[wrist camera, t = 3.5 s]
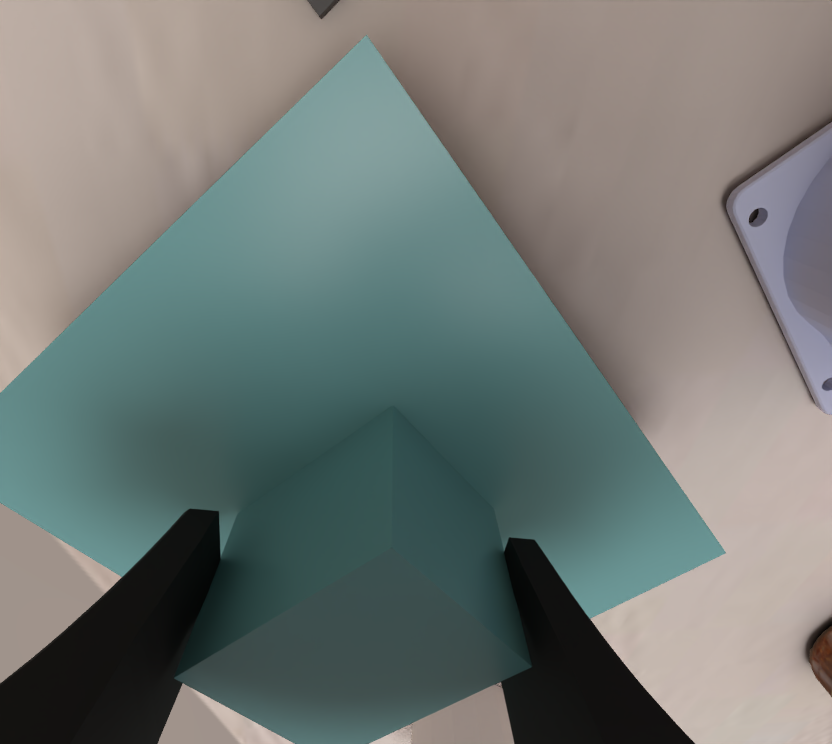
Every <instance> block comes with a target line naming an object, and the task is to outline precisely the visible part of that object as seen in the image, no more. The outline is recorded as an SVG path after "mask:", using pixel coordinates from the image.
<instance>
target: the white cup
mask: <svg viewBox="0 0 832 744" xmlns="http://www.w3.org/2000/svg"><path fill="white" fill-rule="evenodd" d="M411 744H514V740H513V735H512V730H511V726H510V721H509V716H508V712H507V707H506V702H505V698H504V693H503V688H502V687H499V686H497V685H493V686H490V687H488V688H486V689H484V690H482V691H480V692H478V693H475V694H473V695H471V696H469V697H467V698H465V699H463V700H460V701H458V702H456V703H454V704H452V705H450V706H448V707H446V708H443V709H441V710H439V711H437V712H435V713H433V714H431V715H428V716H426V717H424V718H422V719H420V720H418V721H416V722H414V723H412V739H411Z"/></svg>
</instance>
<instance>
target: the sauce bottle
mask: <svg viewBox="0 0 832 744" xmlns="http://www.w3.org/2000/svg"><path fill="white" fill-rule="evenodd" d="M809 662H810V664H811V667H812V670H813V672H814V674H815V676H816V678H817V679H818V681H819V682H820V683H821V684H822V685H823V687H824V688H825V689H826V690H827V692H828V693H829V694H830V695H831V697H832V625H831V626H830V627H829V628H828V629H827V630H825V631H824V632H823V633H822V634H821V635H820V636H819V637H818V638H817V640H816V642H815V643H814V646H813V647H812V648H811V649H810V660H809Z"/></svg>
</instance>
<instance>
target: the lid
mask: <svg viewBox="0 0 832 744" xmlns="http://www.w3.org/2000/svg"><path fill="white" fill-rule="evenodd" d="M0 503H1V504H3V505H5V506H6V507H8V508H10V509H11V510H13V511H15V512H17V513H18V514H19V515H21V516H23V517H24V518H26V519H28V520H29V521H31V522H33V523H34V524H36V525H38V526H39V527H41V528H42V529H44V530H46V531H47V532H49V533H51V534H52V535H54V536H56V537H57V538H59V539H61V540H62V541H64V542H65V543H67V544H69V545H70V546H72V547H74V548H75V549H77V550H79V551H80V552H82V553H84V554H85V555H87V556H88V557H90V558H92V559H93V560H95V561H97V562H98V563H100V564H102V565H103V566H105V567H107V568H108V569H110V570H111V571H113V572H115V573H116V574H118V575H120V576H121V577H123V576H124V575H125V574H126V573H127V572H128V571H129V570H130V569H131V568H132V567H133V566H134V565H135V564H136V563H137V562H138V561H139V560H140V559H141V558H142V557H143V556H144V555H145V554H146V553H147V552H148V551H149V550H150V549H151V548H152V547H153V546H154V545H155V543H156V542H157V541H158V540H159V539H160V538H161V537H162V536H163V535H164V534H165V533H166V532H167V531H168V530H169V529H170V527H171V526H172V525H173V524H174V523H175V522H176V521H177V520H178V519H179V518H180V516H181V515H182V514H183V513H184V512H185V511H187V510H188V509H190V508H191V509H202V510H213V511H219V525H220V553H221V560H220V563H219V565H218V568H217V570H216V573H215V576H214V578H213V581H212V583H211V586H210V589H209V591H208V594H207V596H206V599H205V601H204V603H203V605H202V608H201V610H200V612H199V614H198V617H197V619H196V622H195V625H194V627H193V630H192V632H191V635H190V637H189V640H188V643H187V645H186V648H185V650H184V653H183V655H182V658H181V661H180V663H179V666H178V668H177V671H176V673H175V676H174V679H176V680H178V681H180V682H182V683H184V684H185V685H187V686H189V687H191V688H193V689H195V690H197V691H198V692H200V693H202V694H204V695H206V696H208V697H210V698H211V699H213V700H215V701H217V702H219V703H221V704H223V705H224V706H226V707H228V708H230V709H232V710H234V711H235V712H237V713H239V714H241V715H243V716H245V717H247V718H248V719H250V720H252V721H254V722H256V723H258V724H260V725H261V726H263V727H265V728H267V729H269V730H271V731H272V732H274V733H276V734H278V735H280V736H282V737H284V738H285V739H287V740H289V741H291V742H293V743H295V744H369V743H371V742H373V741H375V740H377V739H379V738H382V737H384V736H386V735H388V734H390V733H392V732H394V731H396V730H399V729H401V728H403V727H405V726H407V725H409V724H411V723H414V722H416V721H418V720H420V719H422V718H424V717H426V716H428V715H431V714H433V713H435V712H437V711H439V710H441V709H443V708H446V707H448V706H450V705H452V704H454V703H456V702H458V701H460V700H463V699H465V698H467V697H469V696H471V695H473V694H475V693H478V692H480V691H482V690H484V689H486V688H488V687H490V686H493V685H495V684H497V683H499V682H501V681H503V680H505V679H507V678H510V677H512V676H514V675H516V674H518V673H520V672H522V671H525V670H527V669H529V668H531V667H532V664H531V660H530V656H529V652H528V647H527V643H526V639H525V635H524V631H523V627H522V623H521V619H520V614H519V610H518V606H517V603H516V600H515V596H514V593H513V589H512V585H511V581H510V577H509V572H508V568H507V564H506V560H505V556H504V550H505V547H506V545H507V542H508V539H509V537H511V538H523V539H534V540H535V541H536V542H537V543H538V545H539V546H540V548H541V549H542V551H543V552H544V554H545V555H546V557H547V558H548V560H549V561H550V563H551V564H552V565H553V567H554V568H555V570H556V571H557V573H558V574H559V576H560V577H561V579H562V580H563V582H564V583H565V585H566V586H567V587H568V589H569V590H570V592H571V593H572V595H573V596H574V598H575V599H576V600H577V602H578V603H579V605H580V606H581V607H582V609H583V610H584V612H585V613H586V614H587V616H588V617H589V618H592V617H594V616H596V615H598V614H600V613H603V612H605V611H607V610H609V609H611V608H613V607H615V606H617V605H619V604H621V603H623V602H625V601H627V600H630V599H632V598H634V597H636V596H638V595H640V594H642V593H644V592H646V591H648V590H650V589H652V588H654V587H657V586H659V585H661V584H663V583H665V582H667V581H669V580H671V579H673V578H675V577H677V576H679V575H681V574H683V573H686V572H688V571H690V570H692V569H694V568H696V567H698V566H700V565H702V564H704V563H706V562H708V561H710V560H713V559H715V558H717V557H719V556H721V555H723V554H725V553H726V552H725V551H724V549H723V548H722V546H721V545H720V544H719V542H718V541H717V539H716V538H715V536H714V535H713V533H712V532H711V531H710V529H709V528H708V526H707V525H706V523H705V522H704V520H703V519H702V518H701V516H700V515H699V513H698V512H697V510H696V509H695V508H694V506H693V505H692V503H691V502H690V500H689V499H688V497H687V496H686V495H685V493H684V492H683V490H682V489H681V487H680V486H679V484H678V483H677V482H676V480H675V479H674V477H673V476H672V474H671V473H670V471H669V470H668V469H667V467H666V466H665V464H664V463H663V461H662V460H661V459H660V457H659V456H658V454H657V453H656V451H655V450H654V448H653V447H652V446H651V444H650V443H649V441H648V440H647V438H646V437H645V435H644V434H643V433H642V431H641V430H640V428H639V427H638V425H637V424H636V422H635V421H634V420H633V418H632V417H631V415H630V414H629V412H628V411H627V410H626V408H625V407H624V405H623V404H622V402H621V401H620V399H619V398H618V397H617V395H616V394H615V392H614V391H613V389H612V388H611V386H610V385H609V384H608V382H607V381H606V379H605V378H604V376H603V375H602V373H601V372H600V371H599V369H598V368H597V366H596V365H595V363H594V362H593V360H592V359H591V358H590V356H589V355H588V353H587V352H586V350H585V349H584V348H583V346H582V345H581V343H580V342H579V340H578V339H577V337H576V336H575V335H574V333H573V332H572V330H571V329H570V327H569V326H568V324H567V323H566V322H565V320H564V319H563V317H562V316H561V314H560V313H559V311H558V310H557V309H556V307H555V306H554V304H553V303H552V301H551V300H550V299H549V297H548V296H547V294H546V293H545V291H544V290H543V288H542V287H541V286H540V284H539V283H538V281H537V280H536V278H535V277H534V275H533V274H532V273H531V271H530V270H529V268H528V267H527V265H526V264H525V262H524V261H523V260H522V258H521V257H520V255H519V254H518V252H517V251H516V250H515V248H514V247H513V245H512V244H511V242H510V241H509V239H508V238H507V237H506V235H505V234H504V232H503V231H502V229H501V228H500V226H499V225H498V224H497V222H496V221H495V219H494V218H493V216H492V215H491V213H490V212H489V211H488V209H487V208H486V206H485V205H484V203H483V202H482V201H481V199H480V198H479V196H478V195H477V193H476V192H475V190H474V189H473V188H472V186H471V185H470V183H469V182H468V180H467V179H466V177H465V176H464V175H463V173H462V172H461V170H460V169H459V167H458V166H457V164H456V163H455V162H454V160H453V159H452V157H451V156H450V154H449V153H448V152H447V150H446V149H445V147H444V146H443V144H442V143H441V141H440V140H439V139H438V137H437V136H436V134H435V133H434V131H433V130H432V128H431V127H430V126H429V124H428V123H427V121H426V120H425V118H424V117H423V115H422V114H421V113H420V111H419V110H418V108H417V107H416V105H415V104H414V102H413V101H412V100H411V98H410V97H409V95H408V94H407V92H406V91H405V90H404V88H403V87H402V85H401V84H400V82H399V81H398V79H397V78H396V77H395V75H394V74H393V72H392V71H391V69H390V68H389V66H388V65H387V64H386V62H385V61H384V59H383V58H382V56H381V55H380V53H379V52H378V51H377V49H376V48H375V46H374V45H373V43H372V42H371V41H370V39H369V38H368V36H367V35H366V36H365V37H364V38H363V39H362V40H361V41H360V42H359V43H358V44H357V45H356V46H355V47H354V48H353V49H351V50H350V51H349V52H348V53H347V54H346V55H345V56H344V57H343V58H342V59H341V60H340V61H339V62H338V63H337V64H336V65H335V66H334V67H333V68H332V69H331V70H330V71H329V72H328V73H327V74H326V75H325V76H324V77H323V78H322V79H321V80H320V81H319V82H318V83H317V84H316V85H315V86H314V87H313V88H312V89H311V90H310V91H309V92H308V93H307V94H306V95H304V96H303V97H302V98H301V99H300V100H299V101H298V102H297V103H296V104H295V105H294V106H293V107H292V108H291V109H290V110H289V111H288V112H287V113H286V114H285V115H284V116H283V117H282V118H281V119H280V120H279V121H278V122H277V123H276V124H275V125H274V126H273V127H272V128H271V129H270V130H269V131H268V132H267V133H266V134H265V135H264V136H263V137H262V138H261V139H260V140H258V141H257V142H256V143H255V144H254V145H253V146H252V147H251V148H250V149H249V150H248V151H247V152H246V153H245V154H244V155H243V156H242V157H241V158H240V159H239V160H238V161H237V162H236V163H235V164H234V165H233V166H232V167H231V168H230V169H229V170H228V171H227V172H226V173H225V174H224V175H223V176H222V177H221V178H220V179H219V180H218V181H217V182H216V183H215V184H214V185H213V186H211V187H210V188H209V189H208V190H207V191H206V192H205V193H204V194H203V195H202V196H201V197H200V198H199V199H198V200H197V201H196V202H195V203H194V204H193V205H192V206H191V207H190V208H189V209H188V210H187V211H186V212H185V213H184V214H183V215H182V216H181V217H180V218H179V219H178V220H177V221H176V222H175V223H174V224H173V225H172V226H171V227H170V228H169V229H168V230H167V231H165V232H164V233H163V234H162V235H161V236H160V237H159V238H158V239H157V240H156V241H155V242H154V243H153V244H152V245H151V246H150V247H149V248H148V249H147V250H146V251H145V252H144V253H143V254H142V255H141V256H140V257H139V258H138V259H137V260H136V261H135V262H134V263H133V264H132V265H131V266H130V267H129V268H128V269H127V270H126V271H125V272H124V273H123V274H122V275H121V276H120V277H118V278H117V279H116V280H115V281H114V282H113V283H112V284H111V285H110V286H109V287H108V288H107V289H106V290H105V291H104V292H103V293H102V294H101V295H100V296H99V297H98V298H97V299H96V300H95V301H94V302H93V303H92V304H91V305H90V306H89V307H88V308H87V309H86V310H85V311H84V312H83V313H82V314H81V315H80V316H79V317H78V318H77V319H76V320H75V321H74V322H73V323H71V324H70V325H69V326H68V327H67V328H66V329H65V330H64V331H63V332H62V333H61V334H60V335H59V336H58V337H57V338H56V339H55V340H54V341H53V342H52V343H51V344H50V345H49V346H48V347H47V348H46V349H45V350H44V351H43V352H42V353H41V354H40V355H39V356H38V357H37V358H36V359H35V360H34V361H33V362H32V363H31V364H30V365H29V366H28V367H27V368H25V369H24V370H23V371H22V372H21V373H20V374H19V375H18V376H17V377H16V378H15V379H14V380H13V381H12V382H11V383H10V384H9V385H8V386H7V387H6V388H5V389H4V390H3V391H2V392H1V393H0Z"/></svg>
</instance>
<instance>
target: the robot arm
mask: <svg viewBox="0 0 832 744" xmlns="http://www.w3.org/2000/svg"><path fill="white" fill-rule="evenodd" d="M726 208H727V212H728V215H729V217H730V219H731V221H732V223H733V225H734V228H735V230H736V232H737V234H738V236H739V238H740V241H741V243H742V245H743V247H744V249H745V252H746V254H747V256H748V258H749V260H750V262H751V265H752V267H753V269H754V271H755V273H756V275H757V278H758V280H759V282H760V284H761V286H762V288H763V291H764V293H765V295H766V297H767V299H768V301H769V304H770V306H771V308H772V310H773V312H774V315H775V317H776V319H777V321H778V323H779V325H780V328H781V330H782V332H783V334H784V336H785V338H786V341H787V343H788V345H789V347H790V349H791V351H792V354H793V356H794V358H795V360H796V362H797V364H798V367H799V369H800V371H801V373H802V375H803V378H804V380H805V382H806V384H807V386H808V388H809V391H810V393H811V395H812V397H813V399H814V401H815V404H816V406H817V407H818V408H819V409H820V410H822V411H823V412H824V413H826V414H829V415H832V122H831V123H829V124H828V125H826V126H825V127H823V128H822V129H821V130H819V131H818V132H816V133H815V134H813V135H812V136H810V137H809V138H807V139H806V140H805V141H803V142H802V143H800V144H799V145H797V146H796V147H794V148H793V149H791V150H790V151H789V152H787V153H786V154H784V155H783V156H781V157H780V158H778V159H777V160H775V161H774V162H773V163H771V164H770V165H768V166H767V167H765V168H764V169H762V170H761V171H759V172H758V173H756V174H755V175H754V176H752V177H751V178H749V179H748V180H746V181H745V182H743V183H742V184H740V185H739V186H738V187H737V188H735V189H734V190H733V191H732V192H731V194H730V196H729V197H728V200H727V205H726ZM755 209H758V210H759V214H758V216H757V218H756V219H755V220H754V221H753V222H752V223H749V217H750V214H751V213H752V212H753V211H754V210H755ZM827 379H828V380H827ZM826 380H827V381H826ZM824 381H826V382H825V383H824ZM823 383H824V384H823ZM504 556H505V560H506V564H507V568H508V572H509V577H510V581H511V585H512V589H513V593H514V596H515V600H516V603H517V606H518V610H519V614H520V619H521V623H522V627H523V631H524V635H525V639H526V643H527V647H528V652H529V656H530V660H531V664H532V667H531V668H529V669H527V670H525V671H522V672H520V673H518V674H516V675H514V676H512V677H510V678H507V679H505V680H503V681H501V684H502V688H503V693H504V698H505V702H506V707H507V712H508V716H509V721H510V726H511V730H512V735H513V740H514V744H695V743H694V742H693V741H692V740H691V739H690V738H689V737H688V736H687V735H686V734H685V733H684V732H683V731H682V729H681V728H680V727H679V726H678V725H677V724H676V723H675V722H674V721H673V720H672V719H671V717H670V716H669V715H668V714H667V713H666V712H665V711H664V710H663V709H662V708H661V706H660V705H659V704H658V703H657V702H656V701H655V700H654V699H653V698H652V696H651V695H650V694H649V693H648V692H647V691H646V690H645V688H644V687H643V686H642V685H641V684H640V682H639V681H638V680H637V679H636V678H635V676H634V675H633V674H632V673H631V672H630V670H629V669H628V668H627V667H626V665H625V664H624V663H623V662H622V660H621V659H620V658H619V657H618V655H617V654H616V653H615V652H614V650H613V649H612V648H611V646H610V645H609V644H608V643H607V641H606V640H605V639H604V637H603V636H602V635H601V633H600V632H599V631H598V629H597V628H596V627H595V625H594V624H593V622H592V621H591V620H590V618H589V617H588V616H587V614H586V613H585V612H584V610H583V609H582V607H581V606H580V605H579V603H578V602H577V600H576V599H575V598H574V596H573V595H572V593H571V592H570V590H569V589H568V587H567V586H566V585H565V583H564V582H563V580H562V579H561V577H560V576H559V574H558V573H557V571H556V570H555V568H554V567H553V565H552V564H551V563H550V561H549V560H548V558H547V557H546V555H545V554H544V552H543V551H542V549H541V548H540V546H539V545H538V543H537V542H536V541H535V540H534V539H523V538H511V537H509V539H508V542H507V545H506V547H505V550H504ZM220 560H221V553H220V525H219V511H213V510H202V509H191V508H190V509H188V510H187V511H185V512H184V513H183V514H182V515H181V516H180V518H179V519H178V520H177V521H176V522H175V523H174V524H173V525H172V526H171V527H170V529H169V530H168V531H167V532H166V533H165V534H164V535H163V536H162V537H161V538H160V539H159V540H158V541H157V542H156V543H155V545H154V546H153V547H152V548H151V549H150V550H149V551H148V552H147V553H146V554H145V555H144V556H143V557H142V558H141V559H140V560H139V561H138V562H137V563H136V564H135V565H134V566H133V567H132V568H131V569H130V570H129V571H128V572H127V573H126V574H125V575H124V576H123V577H122V578H121V579H120V580H119V581H118V582H117V583H116V584H115V585H114V586H113V587H112V588H111V589H110V590H108V591H107V592H106V593H105V594H104V595H103V596H102V597H101V598H100V599H99V600H98V601H97V602H96V603H95V604H93V605H92V606H91V607H90V608H89V609H88V610H87V611H86V612H85V613H83V614H82V615H81V616H80V617H79V618H78V619H77V620H76V621H75V622H74V623H72V624H71V625H70V626H69V627H68V628H67V629H66V630H65V631H64V632H62V633H61V634H60V635H59V636H58V637H57V638H55V639H54V640H53V641H52V642H51V643H50V644H48V645H47V646H46V647H45V648H44V649H42V650H41V651H40V652H39V653H38V654H36V655H35V656H34V657H33V658H32V659H31V660H29V661H28V662H27V663H25V664H24V665H23V666H22V667H20V668H19V669H18V670H17V671H16V672H14V673H13V674H12V675H10V676H9V677H8V678H7V679H5V680H4V681H3V682H2V683H0V744H157V743H158V741H159V738H160V736H161V734H162V731H163V728H164V726H165V724H166V722H167V719H168V717H169V715H170V712H171V710H172V707H173V705H174V703H175V700H176V698H177V695H178V693H179V690H180V688H181V686H182V682H180V681H178V680H176V679H174V676H175V673H176V671H177V668H178V666H179V663H180V661H181V658H182V655H183V653H184V650H185V648H186V645H187V643H188V640H189V637H190V635H191V632H192V630H193V627H194V625H195V622H196V619H197V617H198V614H199V612H200V610H201V608H202V605H203V603H204V601H205V599H206V596H207V594H208V591H209V589H210V586H211V583H212V581H213V578H214V576H215V573H216V570H217V568H218V565H219V563H220Z"/></svg>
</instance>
